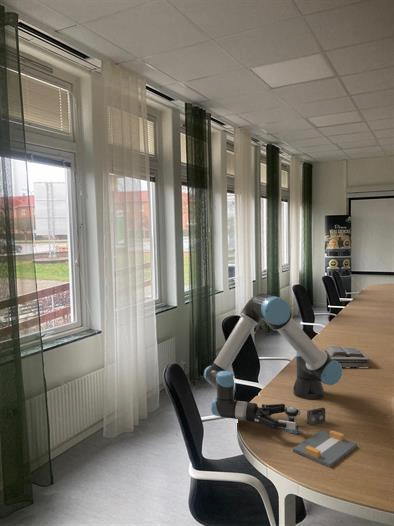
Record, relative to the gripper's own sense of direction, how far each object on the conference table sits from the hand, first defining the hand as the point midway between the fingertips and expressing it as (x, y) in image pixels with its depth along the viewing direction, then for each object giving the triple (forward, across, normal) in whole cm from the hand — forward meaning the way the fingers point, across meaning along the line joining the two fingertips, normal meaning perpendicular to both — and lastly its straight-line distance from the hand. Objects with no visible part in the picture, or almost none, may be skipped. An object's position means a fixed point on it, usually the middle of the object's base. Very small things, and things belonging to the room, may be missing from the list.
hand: (298, 418), depth 165 cm
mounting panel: (+11, +9, -6) cm, 16 cm away
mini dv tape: (+6, -12, -6) cm, 15 cm away
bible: (+13, -102, -7) cm, 103 cm away
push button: (-2, 0, -6) cm, 6 cm away
